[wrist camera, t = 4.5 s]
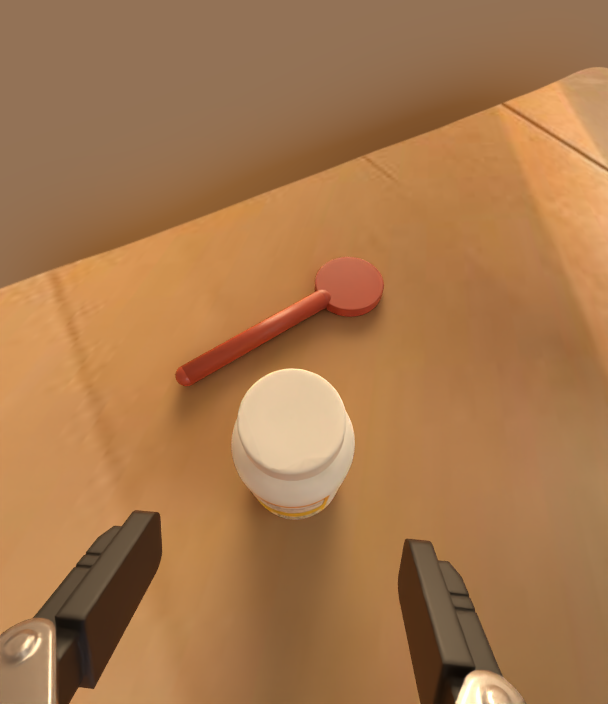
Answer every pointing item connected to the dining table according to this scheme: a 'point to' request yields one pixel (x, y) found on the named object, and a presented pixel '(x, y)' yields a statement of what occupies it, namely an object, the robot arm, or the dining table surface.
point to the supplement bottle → (293, 442)
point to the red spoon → (298, 313)
